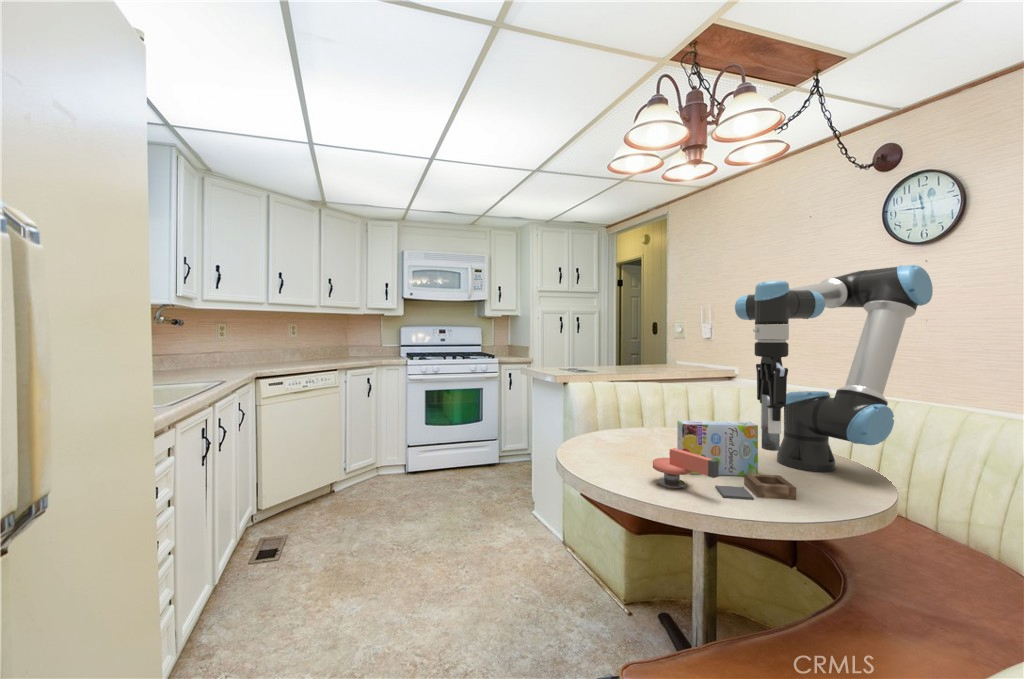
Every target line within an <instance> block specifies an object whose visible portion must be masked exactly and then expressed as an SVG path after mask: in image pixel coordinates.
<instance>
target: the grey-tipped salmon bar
mask: <svg viewBox="0 0 1024 679" xmlns="http://www.w3.org/2000/svg"><path fill="white" fill-rule="evenodd" d="M652 468H653V470H655V471H657V472H660V473H662V474H664V473H666V474H673V475H680V476H682V475H685V476H686V475H690V474H689V473H691V472H692V471H693V472H696V473H699V474H698V475H702V476H703V475H704V476H705V477H709V478H712V479H715V478H719V476H720V475H719V461H718V460H714V459H711V458H707V457H704V456H700V455H697V454H693V453H690V452H686V451H683V450H679V449H677V447H675V448H674V447H673V448H669V457H657V458H654V459H653V460H652Z"/></svg>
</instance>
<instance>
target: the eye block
mask: <svg viewBox="0 0 1024 679" xmlns="http://www.w3.org/2000/svg"><path fill="white" fill-rule="evenodd" d="M743 485H744V486H745V487H746V488H747V489H748V490H749V491H750V492H751V494H753V495H754V496H755V497H756V498H765V499H779V500H780V499H781V500H782V499H783V500H795V501H796V500H797V486H795V485H793V484H792V483H791V482H790V481H788V480H787V479H785V478H784V477H783V476H782V475H775V474H762V473H761V474H759V473H758V474H744V476H743Z"/></svg>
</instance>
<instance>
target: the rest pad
mask: <svg viewBox="0 0 1024 679" xmlns="http://www.w3.org/2000/svg"><path fill="white" fill-rule="evenodd" d="M714 488H715V489H716V490H717V493H719V494H720V495H721V497H722V498H724V499H734V500H735V499H739V500H752V501H755V498H754V496H753V495H752V493H750V492H749V491H748V490H747V489H746V488H745V487H744V486H729V485H728V486H727V485H714Z"/></svg>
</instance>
